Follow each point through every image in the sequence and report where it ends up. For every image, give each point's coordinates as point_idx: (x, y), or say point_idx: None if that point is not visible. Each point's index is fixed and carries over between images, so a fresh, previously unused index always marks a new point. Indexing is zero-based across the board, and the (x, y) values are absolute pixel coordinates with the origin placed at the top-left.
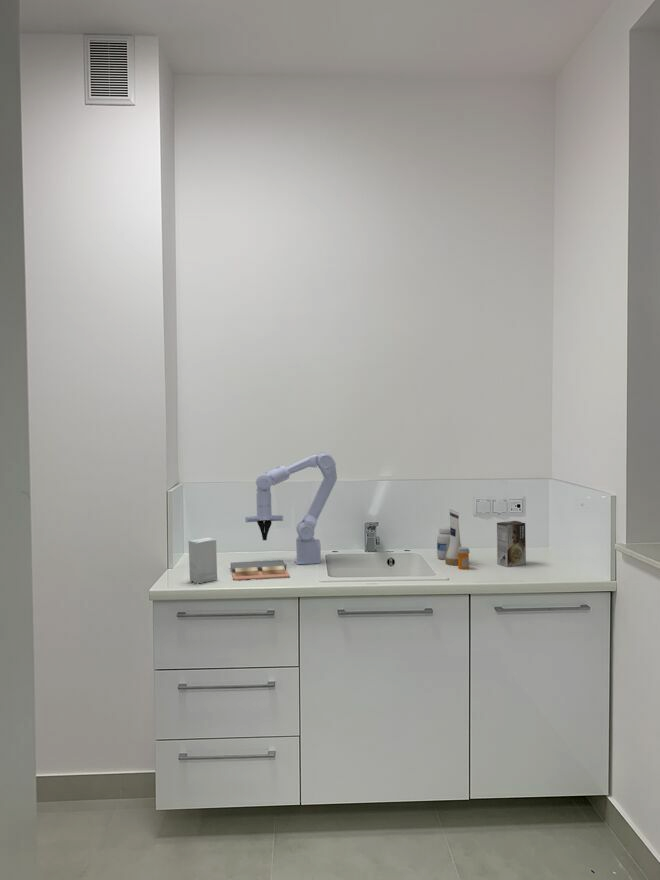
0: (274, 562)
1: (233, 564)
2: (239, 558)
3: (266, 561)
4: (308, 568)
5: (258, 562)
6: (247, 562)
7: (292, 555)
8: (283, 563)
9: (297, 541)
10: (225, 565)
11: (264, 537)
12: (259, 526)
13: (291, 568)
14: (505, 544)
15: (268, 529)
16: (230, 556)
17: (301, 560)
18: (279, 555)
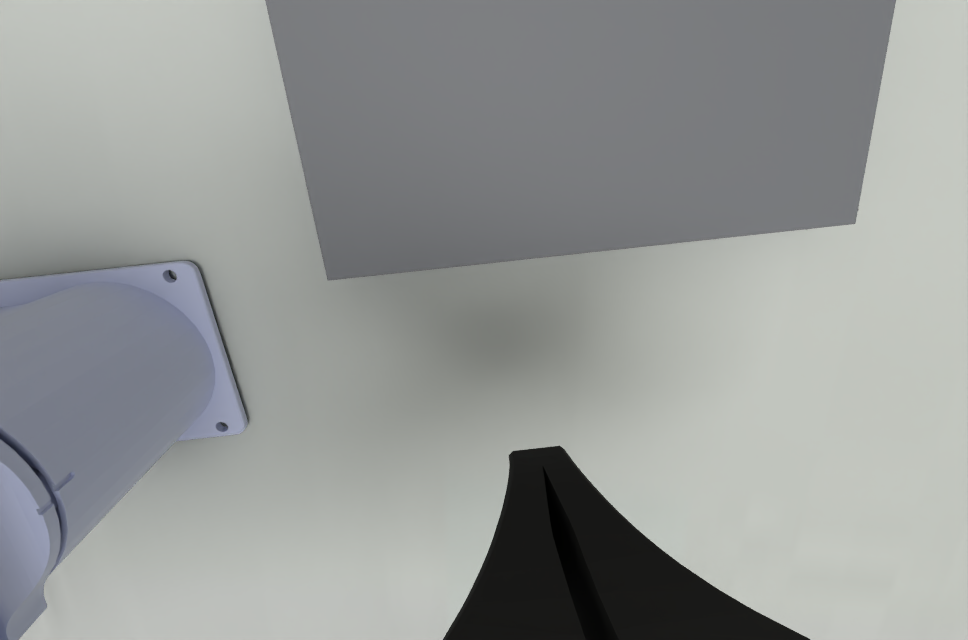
0: (408, 162)
1: (848, 123)
2: (690, 537)
3: (495, 228)
4: (41, 67)
5: (580, 187)
6: (692, 206)
7: (292, 592)
8: (299, 87)
9: (31, 442)
10: (838, 320)
11: (550, 467)
12: (764, 616)
13: (233, 98)
14: None
15: (487, 581)
16: (742, 596)
17: (139, 298)
18: (392, 599)
